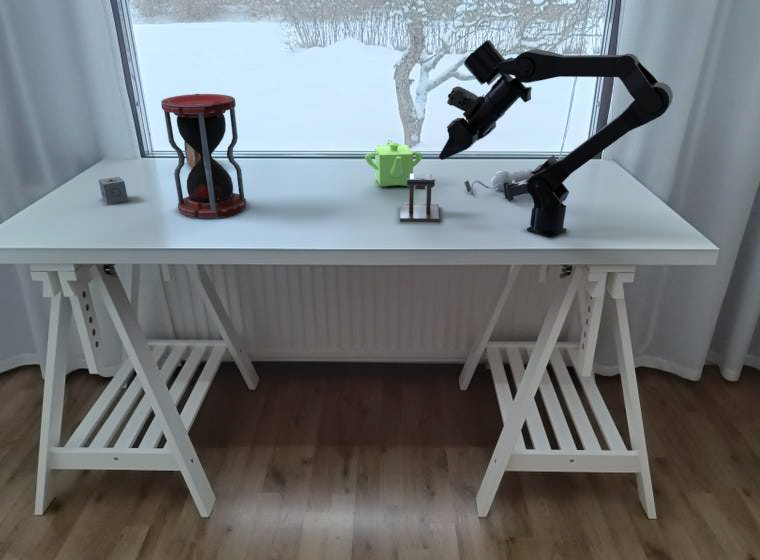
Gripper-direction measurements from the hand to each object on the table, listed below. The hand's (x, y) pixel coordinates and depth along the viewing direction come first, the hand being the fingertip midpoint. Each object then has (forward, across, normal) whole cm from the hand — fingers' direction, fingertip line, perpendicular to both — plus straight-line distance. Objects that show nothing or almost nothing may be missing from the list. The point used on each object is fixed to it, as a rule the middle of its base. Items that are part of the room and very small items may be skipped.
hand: (447, 153), depth 148 cm
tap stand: (+14, +2, +6) cm, 16 cm away
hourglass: (+46, +18, -30) cm, 58 cm away
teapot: (+25, -20, -6) cm, 33 cm away
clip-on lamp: (+6, -22, +15) cm, 28 cm away
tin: (+65, -12, -52) cm, 84 cm away
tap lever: (+8, +6, +2) cm, 10 cm away
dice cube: (+63, +22, -50) cm, 84 cm away
